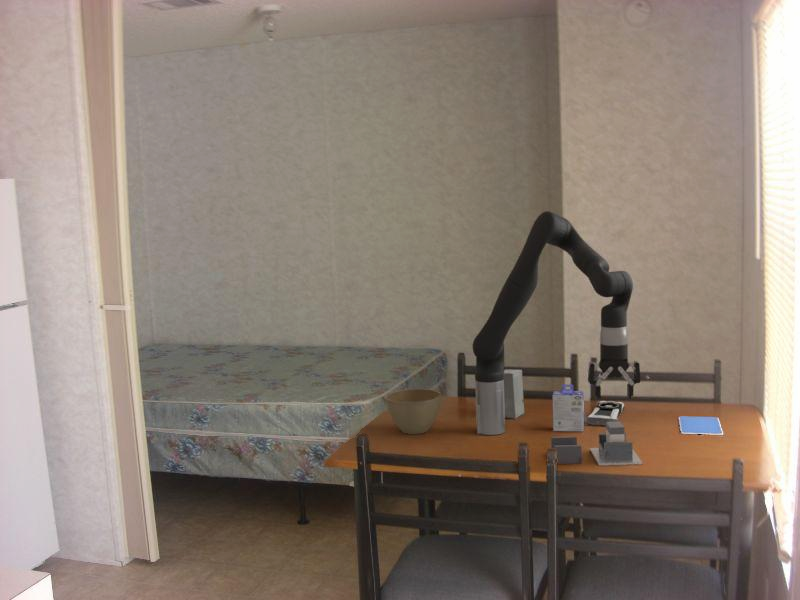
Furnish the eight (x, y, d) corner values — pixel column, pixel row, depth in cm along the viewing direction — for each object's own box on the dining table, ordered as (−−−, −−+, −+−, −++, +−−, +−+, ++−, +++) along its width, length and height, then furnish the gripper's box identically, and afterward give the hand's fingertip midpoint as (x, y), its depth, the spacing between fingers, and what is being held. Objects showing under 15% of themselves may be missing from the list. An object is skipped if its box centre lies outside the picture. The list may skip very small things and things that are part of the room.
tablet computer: (724, 437, 247) (724, 433, 247) (680, 436, 251) (680, 432, 251) (718, 420, 266) (718, 416, 266) (678, 419, 269) (678, 415, 269)
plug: (610, 458, 230) (610, 427, 228) (606, 451, 236) (605, 421, 234) (624, 458, 229) (624, 427, 228) (620, 451, 235) (619, 421, 234)
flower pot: (405, 421, 280) (403, 387, 279) (451, 426, 271) (450, 391, 269) (377, 435, 265) (375, 399, 263) (425, 441, 256) (423, 404, 254)
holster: (555, 463, 229) (555, 446, 228) (551, 453, 238) (550, 436, 238) (581, 463, 229) (581, 446, 228) (576, 452, 238) (576, 436, 237)
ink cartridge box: (584, 427, 264) (583, 383, 262) (584, 432, 258) (583, 387, 256) (553, 426, 266) (552, 383, 264) (552, 431, 260) (551, 387, 258)
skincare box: (515, 419, 276) (514, 374, 274) (496, 417, 280) (495, 372, 278) (525, 413, 283) (524, 369, 281) (506, 411, 287) (505, 367, 285)
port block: (598, 465, 226) (598, 446, 225) (589, 450, 240) (589, 431, 239) (642, 464, 225) (642, 444, 225) (631, 448, 239) (630, 430, 238)
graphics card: (585, 417, 265) (598, 398, 287) (585, 427, 265) (599, 408, 288) (616, 419, 261) (627, 400, 283) (616, 429, 261) (627, 409, 284)
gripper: (590, 345, 225) (591, 401, 227) (642, 343, 224) (642, 400, 226) (586, 340, 232) (586, 395, 234) (636, 339, 232) (636, 394, 234)
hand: (614, 398), depth 230 cm, fingers open, 8 cm apart
